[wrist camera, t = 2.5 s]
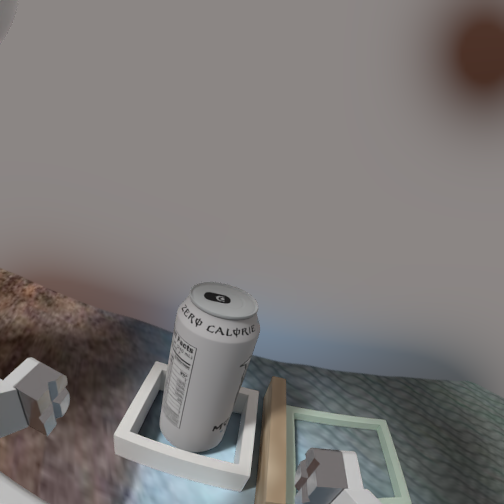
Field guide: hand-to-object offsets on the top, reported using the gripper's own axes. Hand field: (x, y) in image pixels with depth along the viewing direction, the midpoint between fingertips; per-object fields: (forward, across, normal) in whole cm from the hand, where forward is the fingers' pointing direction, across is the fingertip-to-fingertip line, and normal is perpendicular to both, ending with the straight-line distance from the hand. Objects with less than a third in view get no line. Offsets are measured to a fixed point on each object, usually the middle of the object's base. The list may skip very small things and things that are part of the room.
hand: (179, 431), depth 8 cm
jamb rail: (+13, -7, +16) cm, 22 cm away
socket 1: (+13, +1, +16) cm, 21 cm away
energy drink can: (+13, +1, +16) cm, 21 cm away
